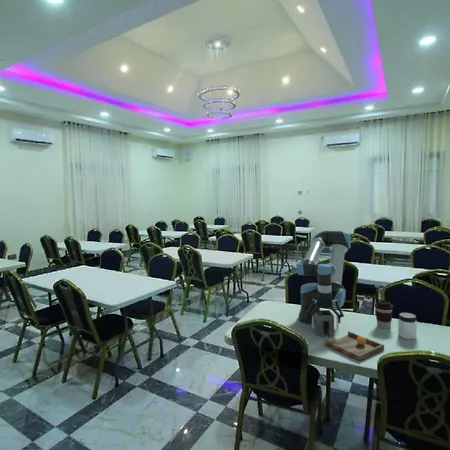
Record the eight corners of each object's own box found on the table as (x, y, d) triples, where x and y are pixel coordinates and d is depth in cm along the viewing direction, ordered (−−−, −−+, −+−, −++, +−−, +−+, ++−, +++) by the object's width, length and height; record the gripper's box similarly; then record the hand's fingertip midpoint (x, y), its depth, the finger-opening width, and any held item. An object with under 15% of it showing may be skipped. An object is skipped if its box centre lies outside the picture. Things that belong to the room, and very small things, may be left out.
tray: (324, 345, 172) (324, 340, 171) (349, 335, 182) (349, 331, 182) (359, 361, 154) (359, 356, 154) (384, 349, 164) (384, 344, 164)
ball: (358, 342, 166) (359, 334, 168) (354, 344, 170) (355, 335, 172) (367, 345, 166) (367, 336, 168) (363, 346, 170) (364, 338, 172)
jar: (399, 338, 176) (400, 317, 175) (396, 332, 184) (396, 312, 182) (418, 340, 173) (418, 318, 172) (414, 333, 181) (414, 313, 180)
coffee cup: (392, 331, 185) (392, 305, 184) (373, 328, 191) (373, 303, 189) (393, 325, 194) (394, 300, 192) (375, 322, 199) (375, 298, 198)
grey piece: (318, 336, 182) (318, 316, 181) (314, 330, 191) (314, 310, 190) (334, 336, 182) (334, 315, 181) (329, 329, 191) (329, 310, 190)
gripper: (302, 292, 181) (302, 329, 183) (348, 294, 175) (349, 331, 177) (302, 289, 188) (302, 323, 190) (346, 290, 183) (347, 326, 184)
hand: (325, 327), depth 184 cm, fingers open, 13 cm apart
